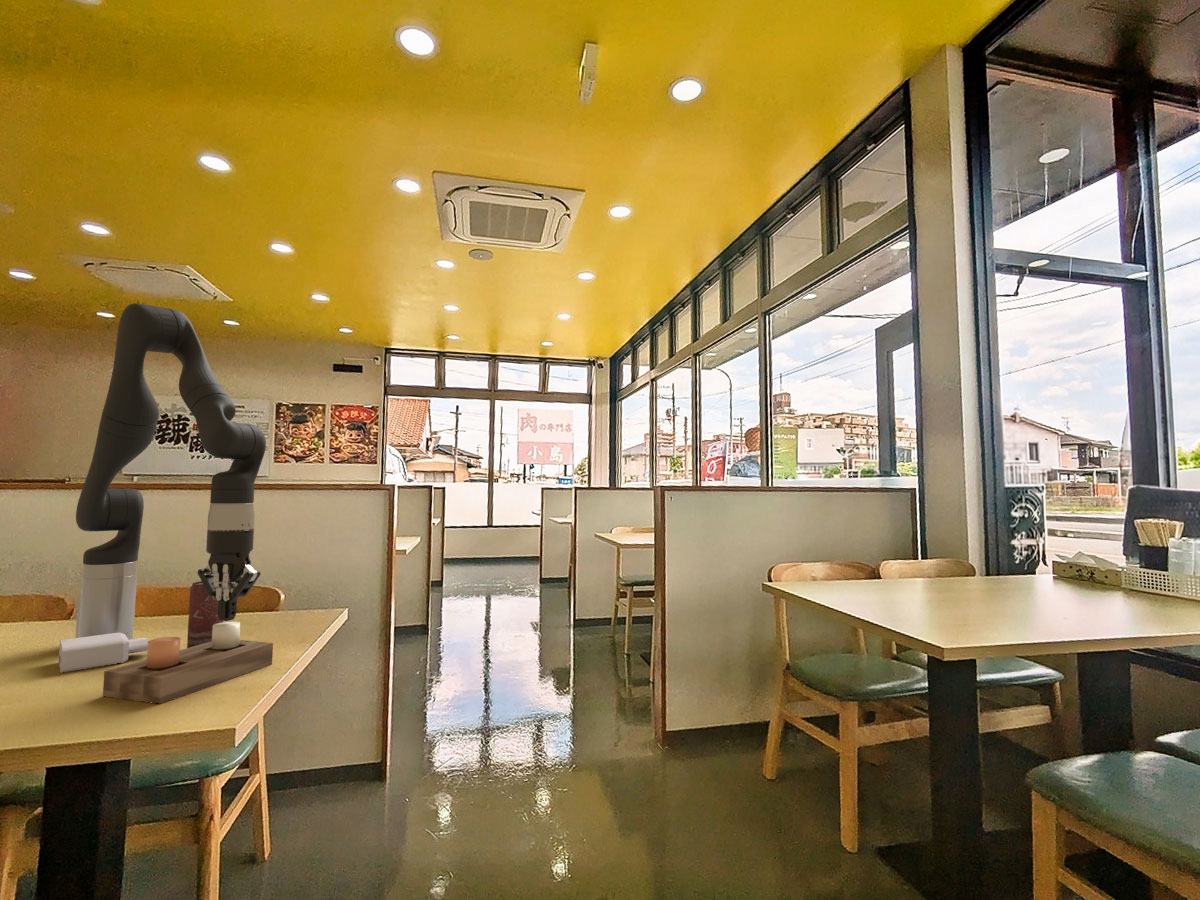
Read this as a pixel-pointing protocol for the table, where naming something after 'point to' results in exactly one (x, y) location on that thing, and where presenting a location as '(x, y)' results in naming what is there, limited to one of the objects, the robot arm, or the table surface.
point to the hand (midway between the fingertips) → (226, 620)
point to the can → (201, 615)
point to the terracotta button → (163, 652)
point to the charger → (97, 651)
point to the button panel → (186, 672)
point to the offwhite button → (225, 635)
